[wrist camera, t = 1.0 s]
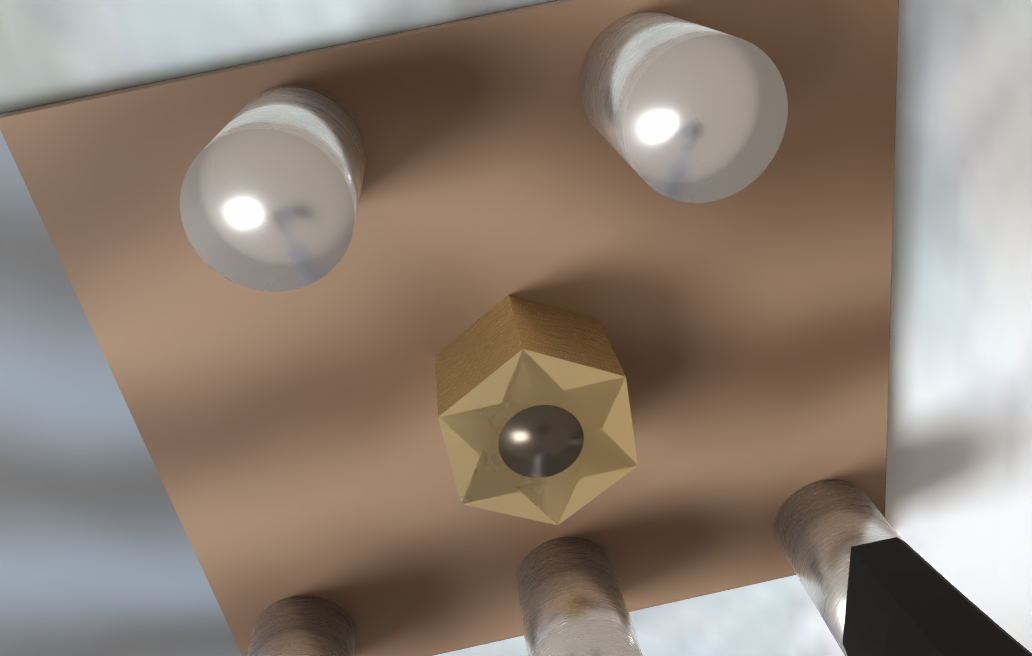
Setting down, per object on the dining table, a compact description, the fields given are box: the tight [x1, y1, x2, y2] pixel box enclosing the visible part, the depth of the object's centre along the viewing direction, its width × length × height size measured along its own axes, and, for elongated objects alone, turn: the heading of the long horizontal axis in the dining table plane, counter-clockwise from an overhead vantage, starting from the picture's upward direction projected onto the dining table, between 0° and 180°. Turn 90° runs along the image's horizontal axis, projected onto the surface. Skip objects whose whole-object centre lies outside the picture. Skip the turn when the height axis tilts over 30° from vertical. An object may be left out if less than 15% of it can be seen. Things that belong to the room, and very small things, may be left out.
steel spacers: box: [180, 12, 902, 656], centre depth 20 cm, size 17×19×4 cm
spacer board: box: [0, 0, 899, 656], centre depth 22 cm, size 18×30×1 cm, turn 100°
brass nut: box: [435, 295, 638, 525], centre depth 21 cm, size 5×4×3 cm
